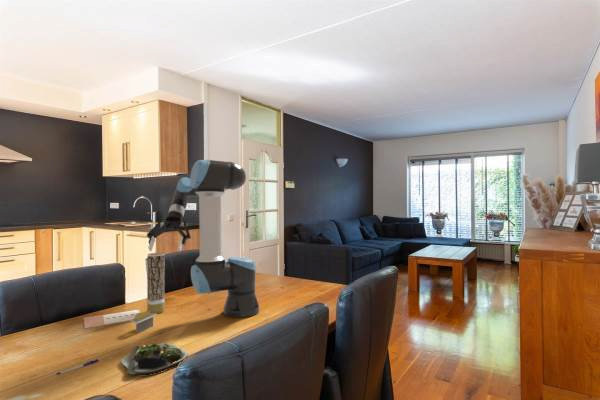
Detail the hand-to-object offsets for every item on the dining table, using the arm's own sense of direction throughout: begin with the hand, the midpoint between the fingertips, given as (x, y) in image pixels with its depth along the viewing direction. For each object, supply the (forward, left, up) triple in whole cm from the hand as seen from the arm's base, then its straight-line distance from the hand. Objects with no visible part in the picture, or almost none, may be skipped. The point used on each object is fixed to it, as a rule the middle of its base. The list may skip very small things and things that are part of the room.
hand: (164, 249), depth 157 cm
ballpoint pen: (-49, +33, -26) cm, 65 cm away
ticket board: (-9, +21, -25) cm, 34 cm away
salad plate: (-57, +14, -26) cm, 65 cm away
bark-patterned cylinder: (-9, +5, -26) cm, 28 cm away
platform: (-28, +13, -26) cm, 41 cm away
